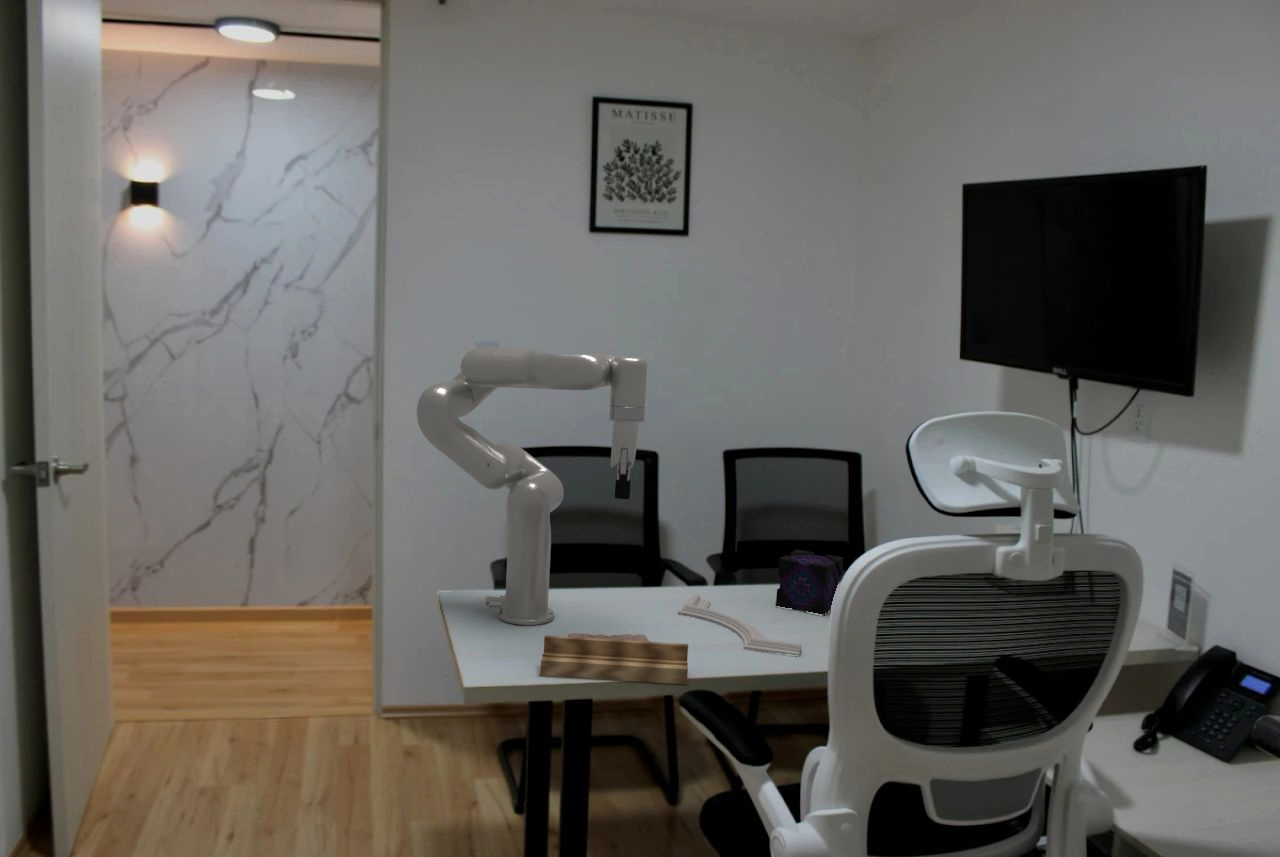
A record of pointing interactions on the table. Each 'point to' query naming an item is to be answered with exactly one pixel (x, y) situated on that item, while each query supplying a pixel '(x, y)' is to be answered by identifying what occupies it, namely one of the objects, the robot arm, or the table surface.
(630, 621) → the table surface
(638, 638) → the brick
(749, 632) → the molding
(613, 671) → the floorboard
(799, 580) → the energy cube
